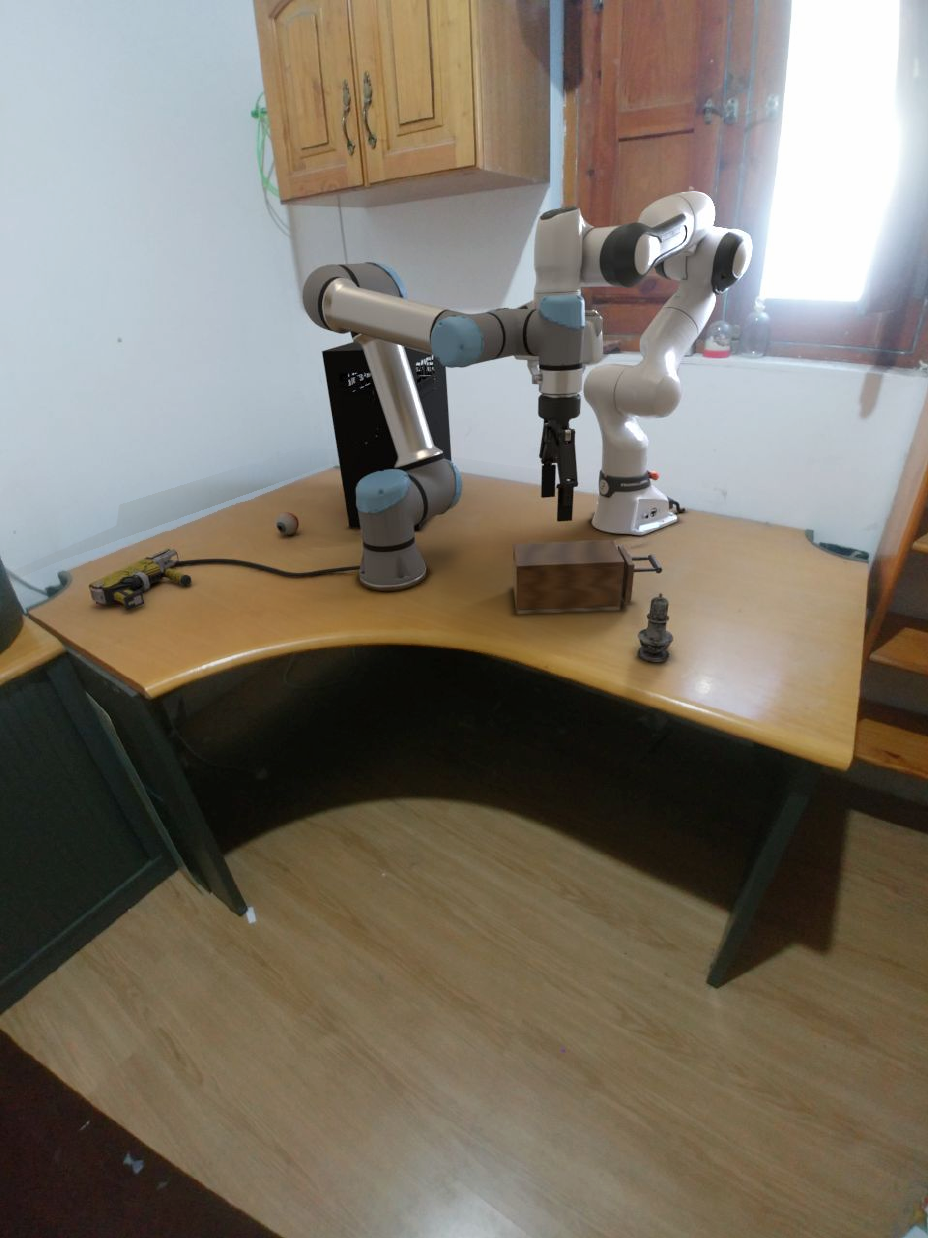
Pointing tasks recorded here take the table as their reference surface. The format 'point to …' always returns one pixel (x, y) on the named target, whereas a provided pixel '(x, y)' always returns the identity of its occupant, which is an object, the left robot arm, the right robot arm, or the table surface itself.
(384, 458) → the black piece
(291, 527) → the eyeball
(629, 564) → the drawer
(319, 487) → the table surface
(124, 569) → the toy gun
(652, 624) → the stone chess piece
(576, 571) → the brown wooden box
